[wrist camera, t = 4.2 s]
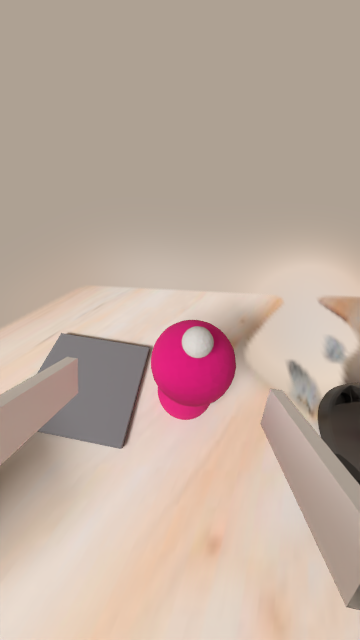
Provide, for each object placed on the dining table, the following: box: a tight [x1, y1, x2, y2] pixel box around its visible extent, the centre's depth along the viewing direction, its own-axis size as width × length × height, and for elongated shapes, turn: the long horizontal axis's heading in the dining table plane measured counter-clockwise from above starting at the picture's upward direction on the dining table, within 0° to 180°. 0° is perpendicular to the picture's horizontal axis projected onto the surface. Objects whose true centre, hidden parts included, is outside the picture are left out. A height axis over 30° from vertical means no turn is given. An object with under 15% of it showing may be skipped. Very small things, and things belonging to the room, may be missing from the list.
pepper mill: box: [151, 320, 236, 420], centre depth 17 cm, size 7×7×20 cm
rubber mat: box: [37, 333, 150, 449], centre depth 26 cm, size 16×14×1 cm
